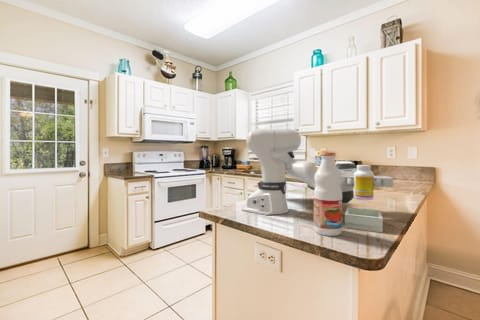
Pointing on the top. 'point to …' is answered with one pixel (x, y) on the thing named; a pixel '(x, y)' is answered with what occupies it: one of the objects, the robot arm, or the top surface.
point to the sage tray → (363, 219)
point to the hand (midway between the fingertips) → (363, 182)
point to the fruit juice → (328, 197)
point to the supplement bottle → (363, 183)
